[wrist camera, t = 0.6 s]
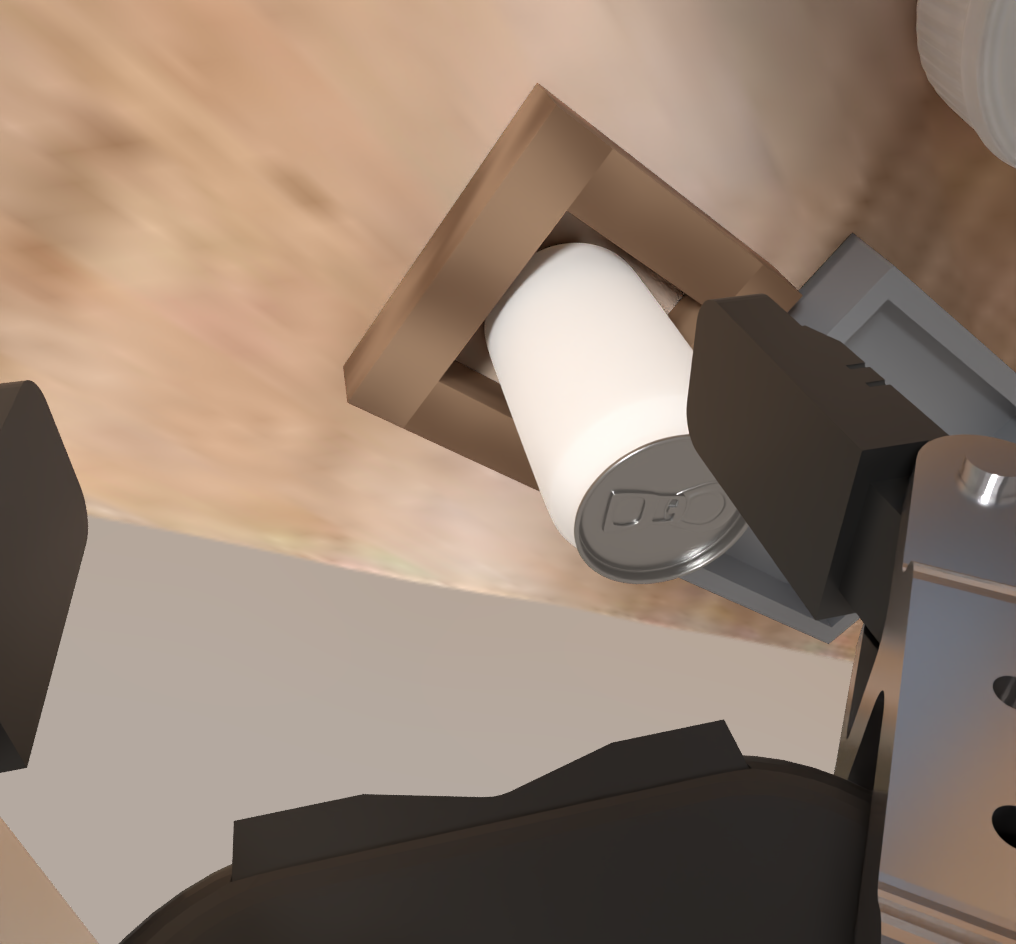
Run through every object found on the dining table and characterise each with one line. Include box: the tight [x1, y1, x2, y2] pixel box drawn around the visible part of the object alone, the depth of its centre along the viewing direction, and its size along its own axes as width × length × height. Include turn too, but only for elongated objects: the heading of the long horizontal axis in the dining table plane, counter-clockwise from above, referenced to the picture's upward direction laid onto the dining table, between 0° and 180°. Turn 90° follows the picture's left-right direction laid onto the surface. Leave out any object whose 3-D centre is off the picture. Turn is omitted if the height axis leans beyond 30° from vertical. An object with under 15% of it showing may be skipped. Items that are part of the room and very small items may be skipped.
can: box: [485, 243, 749, 584], centre depth 29 cm, size 6×6×12 cm
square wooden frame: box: [343, 83, 803, 491], centre depth 33 cm, size 12×12×2 cm
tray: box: [679, 233, 1016, 644], centre depth 40 cm, size 16×16×3 cm
